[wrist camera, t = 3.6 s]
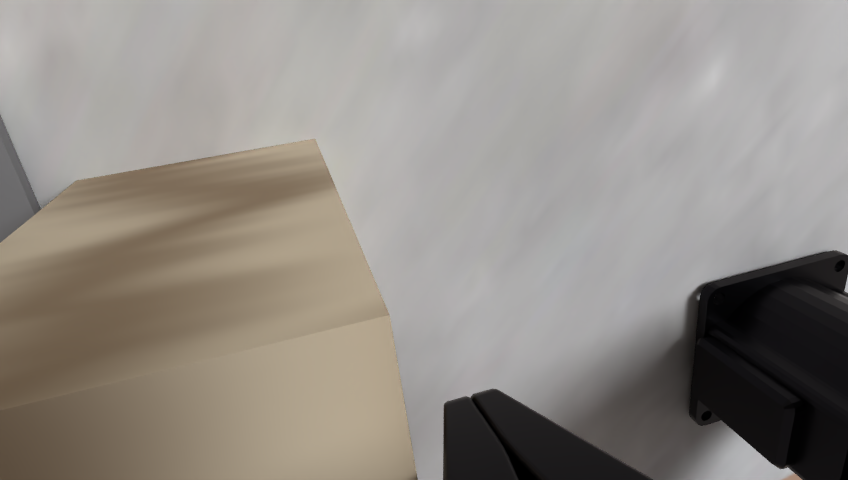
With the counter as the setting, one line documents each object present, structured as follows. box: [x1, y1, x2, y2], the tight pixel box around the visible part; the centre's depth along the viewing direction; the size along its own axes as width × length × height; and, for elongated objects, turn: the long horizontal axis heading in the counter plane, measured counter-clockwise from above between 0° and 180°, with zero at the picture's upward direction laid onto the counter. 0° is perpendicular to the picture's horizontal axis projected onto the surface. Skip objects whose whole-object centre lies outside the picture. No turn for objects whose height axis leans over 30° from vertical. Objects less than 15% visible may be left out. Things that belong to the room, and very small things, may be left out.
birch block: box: [0, 139, 418, 480], centre depth 11 cm, size 6×6×10 cm
